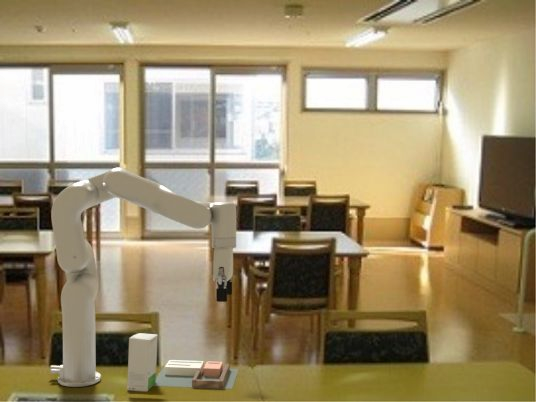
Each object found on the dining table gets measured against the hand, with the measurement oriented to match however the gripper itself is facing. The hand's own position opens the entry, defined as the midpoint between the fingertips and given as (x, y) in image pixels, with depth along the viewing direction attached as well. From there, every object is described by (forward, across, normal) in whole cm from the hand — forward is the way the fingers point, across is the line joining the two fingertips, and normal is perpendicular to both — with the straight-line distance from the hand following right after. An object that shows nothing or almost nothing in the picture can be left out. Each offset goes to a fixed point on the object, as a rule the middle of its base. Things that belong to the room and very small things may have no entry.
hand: (224, 297), depth 213 cm
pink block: (+24, 0, -4) cm, 24 cm away
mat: (+25, +4, -8) cm, 26 cm away
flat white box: (+24, 0, -13) cm, 27 cm away
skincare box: (+24, +14, -23) cm, 36 cm away
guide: (+24, +4, -3) cm, 24 cm away
